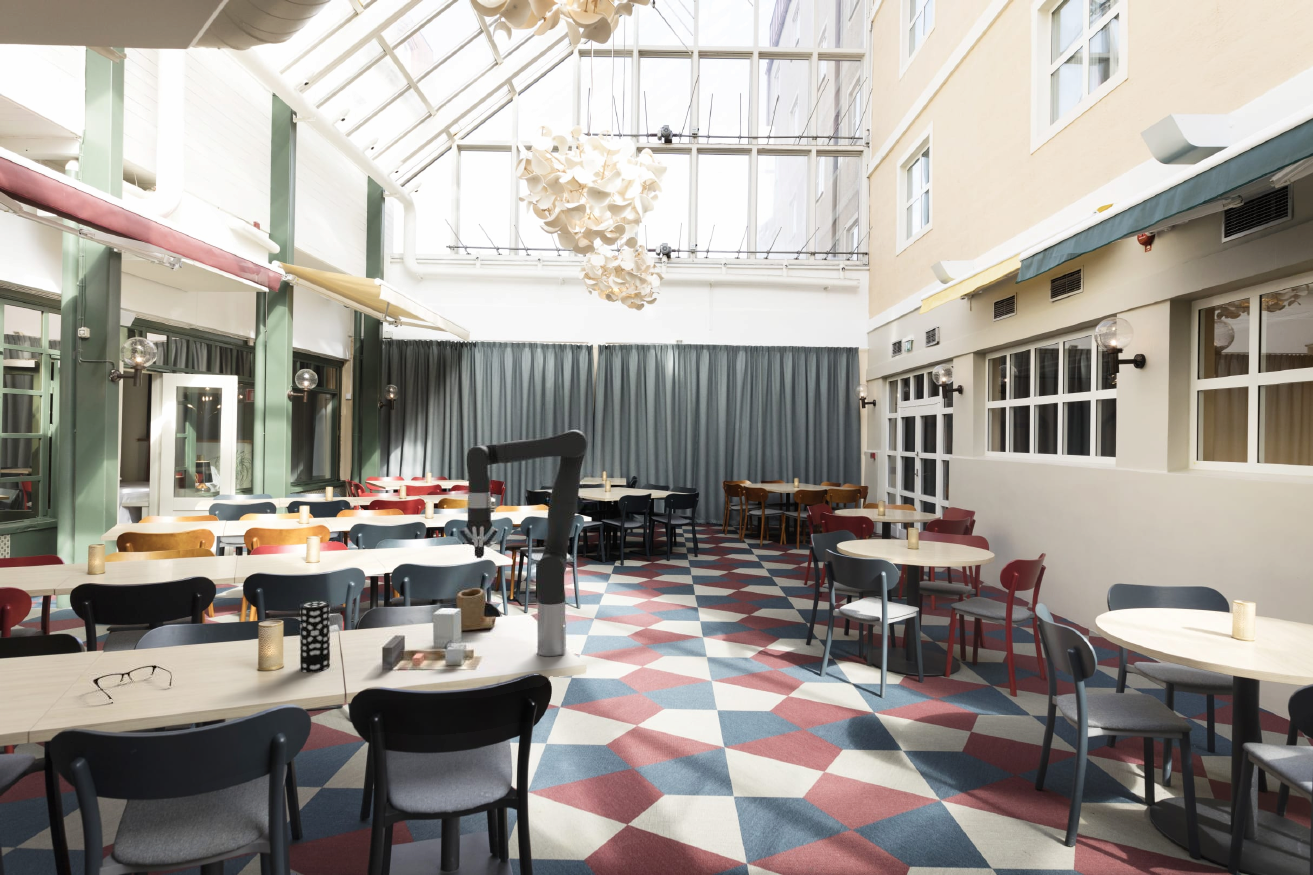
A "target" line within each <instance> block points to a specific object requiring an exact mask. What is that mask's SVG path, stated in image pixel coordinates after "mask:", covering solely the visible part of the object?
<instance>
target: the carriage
mask: <svg viewBox="0 0 1313 875" xmlns="http://www.w3.org/2000/svg"><path fill="white" fill-rule="evenodd" d="M444 649H445V665H462V664H463V663H464V661H465V660H466V649H467V643H466V642H461V643H452V639H450V640H448V642H447V643H446V644H445V645H444V647H443V650H444Z"/></svg>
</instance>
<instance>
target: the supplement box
mask: <svg viewBox="0 0 1313 875" xmlns="http://www.w3.org/2000/svg"><path fill="white" fill-rule="evenodd" d="M432 618H433V619H432V621H433V622H432V624H433V625H432V628H433V630H432V631H433V634H432V636H433V638H432V639H433V642H432V643H433V647H443V648H444V645H445V644H446V643H447V642H448V640H450V639H452V643H462V631H461V609H457V608H453V607H452V608H448V607H447V608H444V607H441V608H439V609H438V610H437V611H435V612H434V613H432Z"/></svg>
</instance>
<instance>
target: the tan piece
mask: <svg viewBox="0 0 1313 875" xmlns="http://www.w3.org/2000/svg"><path fill="white" fill-rule="evenodd" d="M486 601H487V598H486V593H485V591H484V590H483V589H482V588H480V587H479V588H478V587H473V588H469V589H463V590H461V591H460V592H458V593H457V595H456V609H461V632H462V631H474V630H483V629H492V628H494V626H495V624H496V621H497V620H496V619H497V617H496V616H485V607H486V604H487V602H486Z"/></svg>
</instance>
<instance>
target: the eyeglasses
mask: <svg viewBox="0 0 1313 875" xmlns="http://www.w3.org/2000/svg"><path fill="white" fill-rule="evenodd" d="M145 668H152V672H151V674H150V676H151V675H152V676H153V674H154V673H155V670H156V669H157V668H158V669H160V670H163V671H166V672H168V673H169V674H170V680H169V686H171V687H172V680H173V679H172V678H173V677H172V675H173V674H172V673H171V671H170V670H167V669H164V668H163V667H161V666H159V665H155V664H154V665H153V664H151V665H145V666H141V667H137V668H135V669H132V670H129V671H127V672H123V673H120V672H119V673H111V674H106V675H102V676H99V677H96V678H94V679H93V680H92V682H93V684H94V685H95V686H96V687H98V689H99V688H100V690H101V691H102V692H103V693H104V694H105V695H106V696H107V698H109V699H108V700H110V699H112V700H113V698H112V697H111V695H109V694H108V693H107V692H106V691H105V690H104V689H103V688H102V687H100V685H99V680H100V679H103V678H105V677H109V676H121V678H120V681H119V682H121V683H122V682H123V681H124V678H125V677H124V676H125V675H126V676H127V677H128V680H130V681H132V680H133V678H131V673H132V672H134V671H137V670H140V669H145Z"/></svg>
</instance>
